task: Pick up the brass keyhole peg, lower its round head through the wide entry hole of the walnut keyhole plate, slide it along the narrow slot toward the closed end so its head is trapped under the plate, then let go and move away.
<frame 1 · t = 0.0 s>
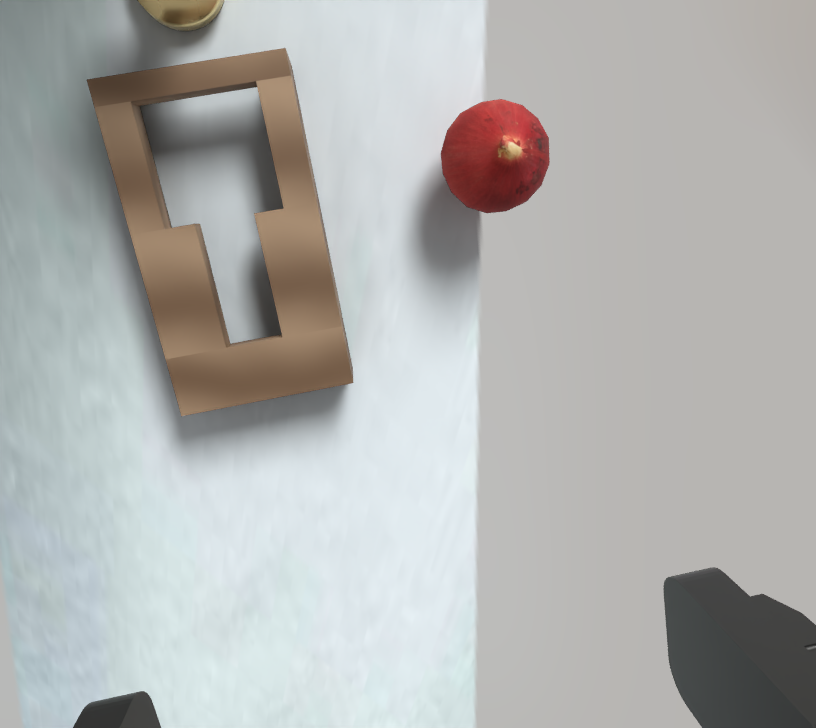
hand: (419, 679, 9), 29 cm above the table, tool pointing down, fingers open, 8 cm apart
onion: (479, 164, 36), on the table
keyhole plate: (241, 241, 35), on the table
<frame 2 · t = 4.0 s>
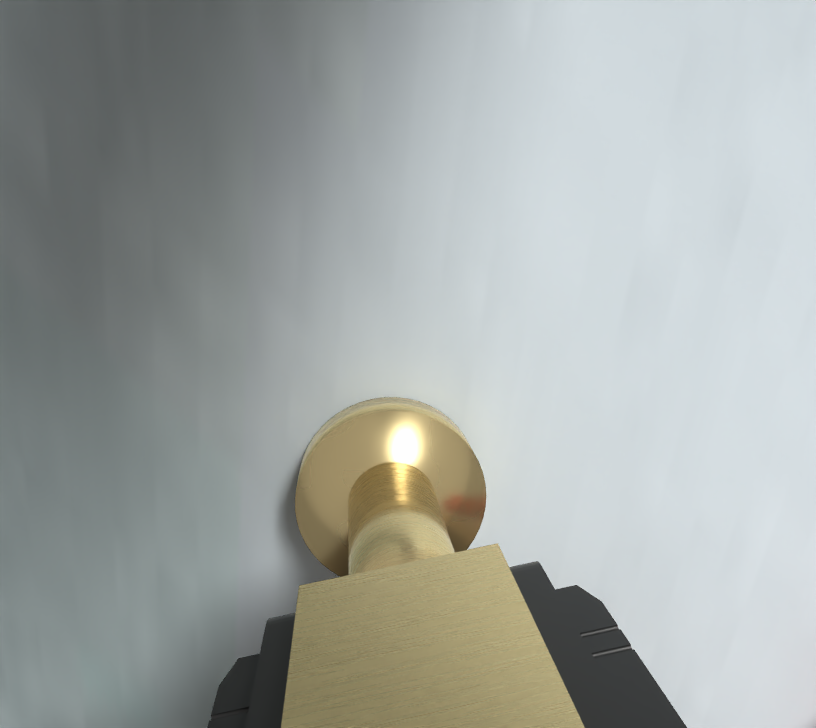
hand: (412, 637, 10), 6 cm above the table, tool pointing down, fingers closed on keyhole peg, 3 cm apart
keyhole peg: (388, 482, 16), on the table, touching gripper
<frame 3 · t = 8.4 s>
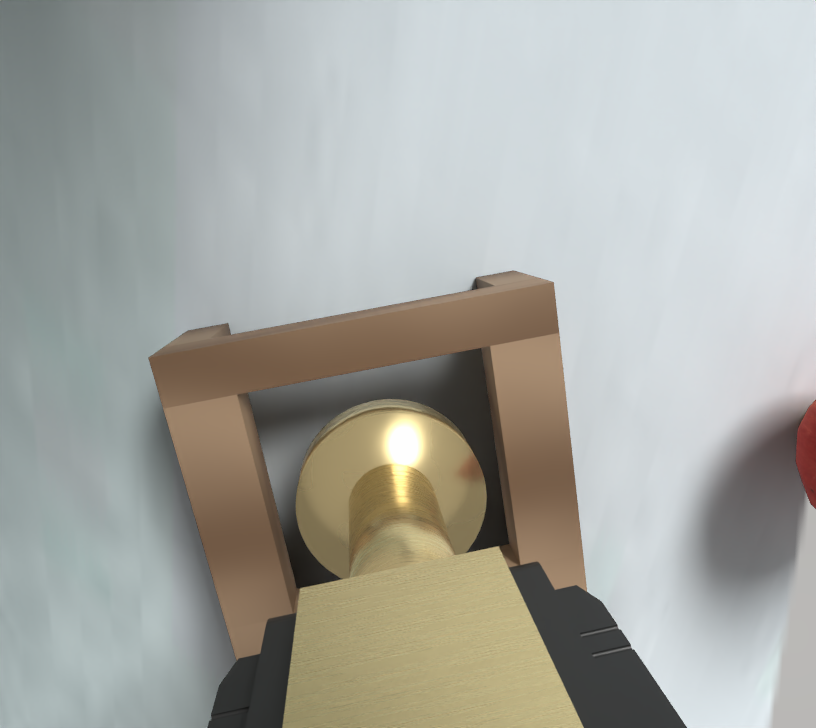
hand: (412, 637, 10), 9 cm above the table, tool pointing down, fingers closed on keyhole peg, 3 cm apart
onion: (813, 417, 21), on the table
keyhole peg: (389, 484, 16), point 3 cm above the table, touching gripper
keyhole plate: (403, 559, 20), on the table
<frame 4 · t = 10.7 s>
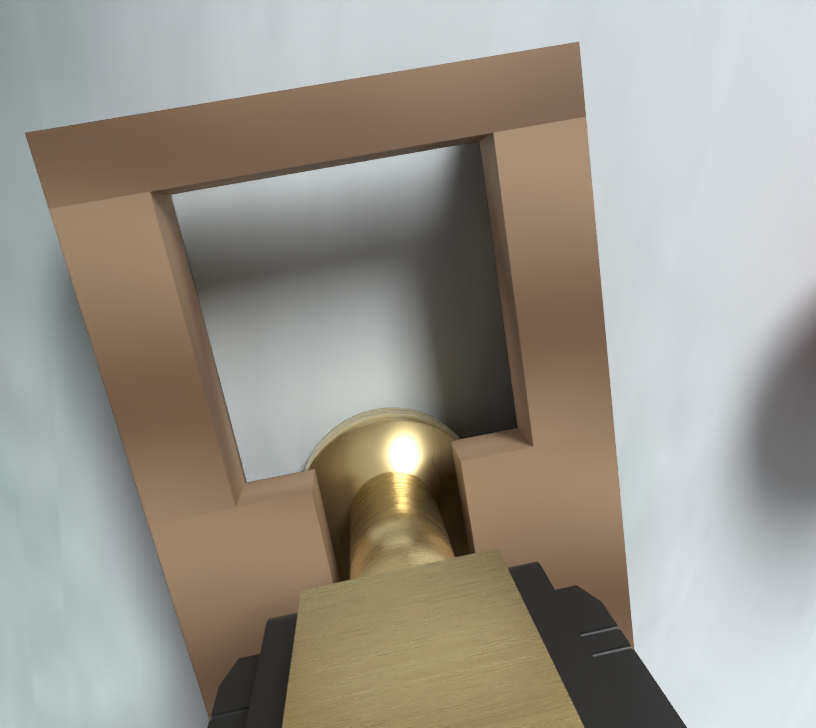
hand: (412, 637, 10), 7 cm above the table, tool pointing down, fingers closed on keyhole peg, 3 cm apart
keyhole peg: (390, 492, 16), on the table, touching gripper
keyhole plate: (386, 464, 16), on the table
when the fingers open (6 cm above the table, at t = 13.0 s): keyhole peg stays where it is, on the table.
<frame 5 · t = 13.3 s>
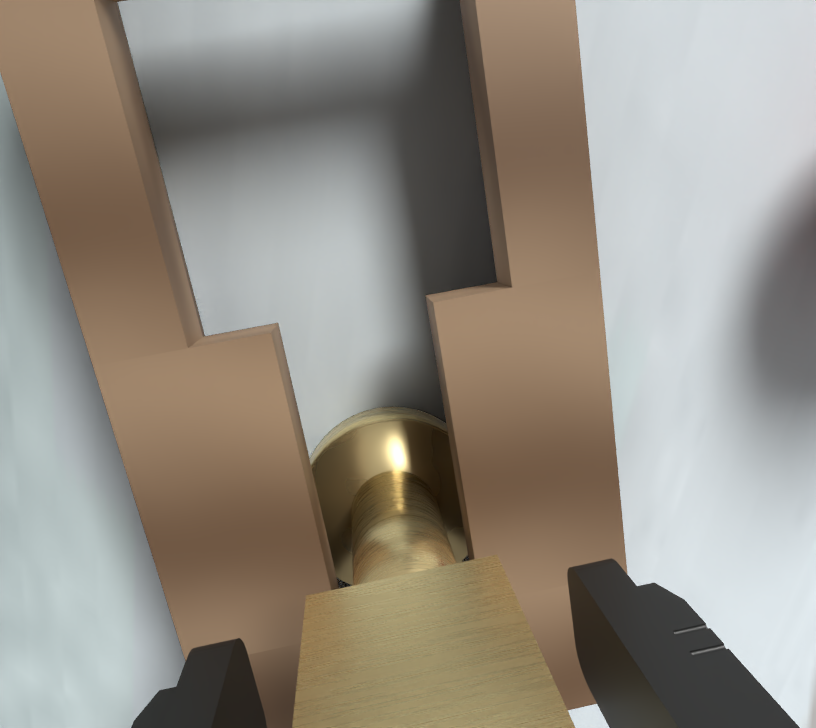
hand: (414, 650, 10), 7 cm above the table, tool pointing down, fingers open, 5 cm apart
keyhole peg: (391, 489, 16), on the table
keyhole plate: (360, 345, 15), on the table
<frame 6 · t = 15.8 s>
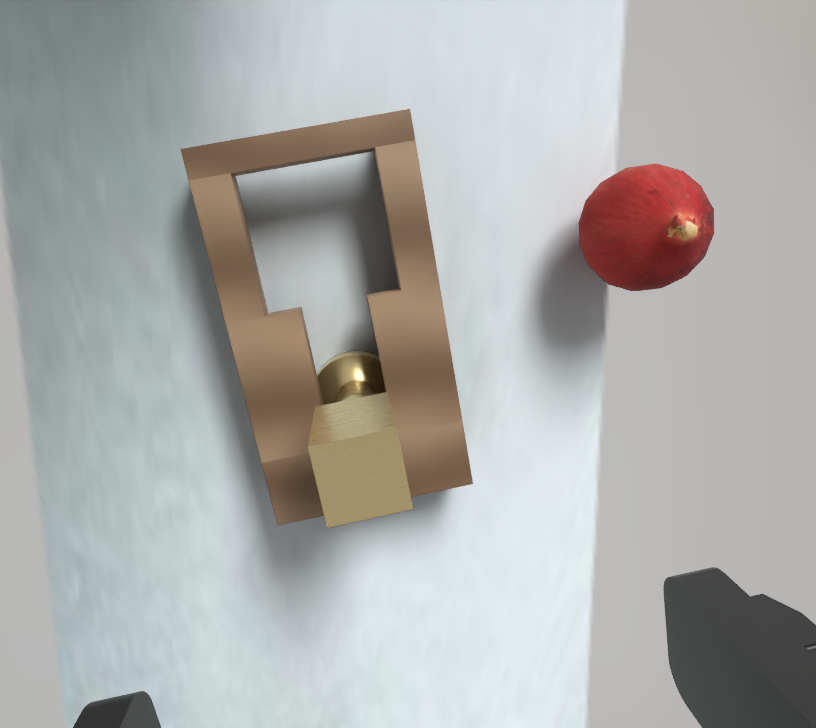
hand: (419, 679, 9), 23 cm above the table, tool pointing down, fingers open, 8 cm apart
onion: (607, 229, 32), on the table
keyhole peg: (356, 393, 32), on the table
keyhole plate: (340, 319, 31), on the table
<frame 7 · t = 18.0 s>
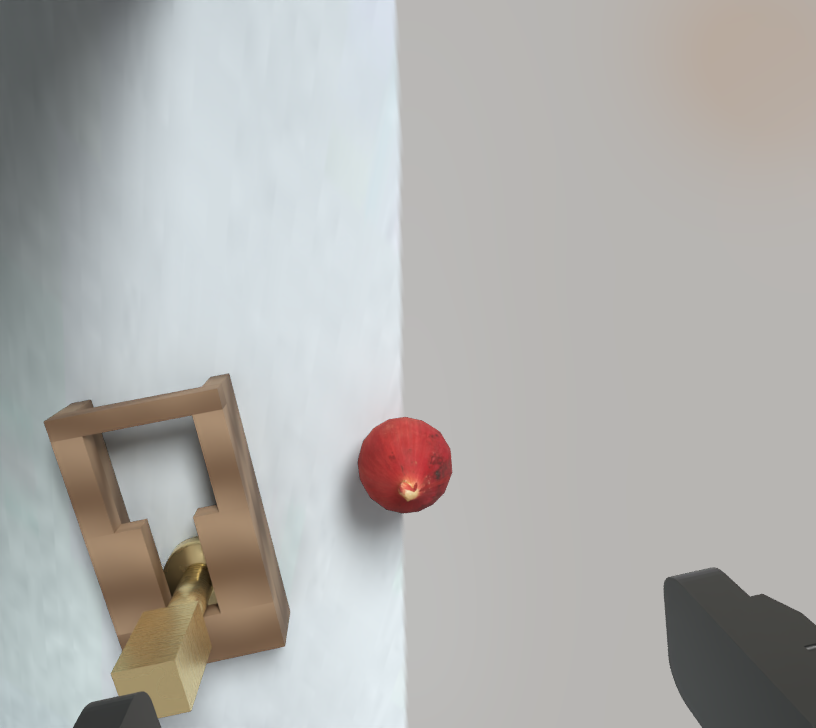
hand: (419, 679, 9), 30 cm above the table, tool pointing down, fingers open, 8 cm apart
onion: (399, 441, 40), on the table
keyhole peg: (204, 567, 41), on the table
keyhole plate: (187, 513, 40), on the table
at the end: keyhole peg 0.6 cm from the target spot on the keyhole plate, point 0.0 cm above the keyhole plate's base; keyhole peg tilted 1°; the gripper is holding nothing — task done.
